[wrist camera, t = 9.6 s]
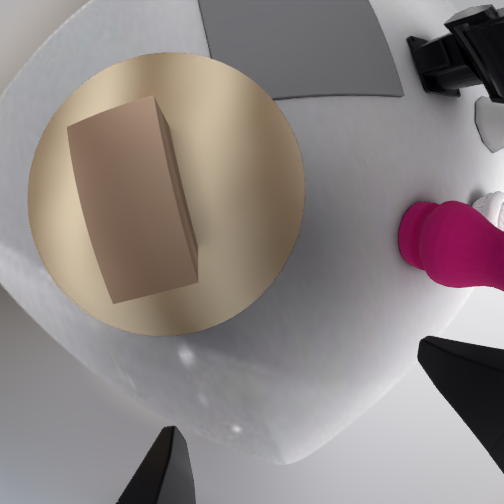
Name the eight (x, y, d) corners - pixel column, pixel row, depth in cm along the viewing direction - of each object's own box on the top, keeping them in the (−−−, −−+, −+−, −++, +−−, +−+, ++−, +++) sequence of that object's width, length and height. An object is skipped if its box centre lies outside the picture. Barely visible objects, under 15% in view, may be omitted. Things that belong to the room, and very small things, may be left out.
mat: (348, -29, 15) (351, -32, 14) (400, 97, 19) (404, 95, 18) (190, -35, 13) (190, -39, 12) (222, 107, 17) (223, 105, 16)
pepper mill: (381, 251, 22) (588, 359, 3) (412, 181, 21) (620, 219, 2) (423, 280, 24) (579, 370, 5) (450, 219, 23) (610, 271, 4)
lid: (266, 40, 12) (300, -19, 6) (318, 290, 16) (370, 338, 10) (20, 115, 10) (-39, 98, 4) (85, 348, 14) (53, 410, 9)
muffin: (457, 221, 24) (506, 234, 17) (473, 177, 23) (520, 183, 16) (476, 248, 25) (518, 263, 19) (491, 208, 25) (532, 217, 18)
